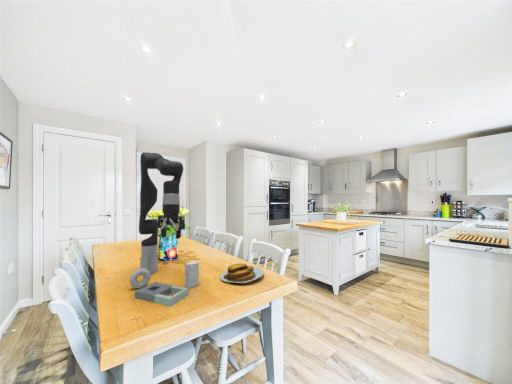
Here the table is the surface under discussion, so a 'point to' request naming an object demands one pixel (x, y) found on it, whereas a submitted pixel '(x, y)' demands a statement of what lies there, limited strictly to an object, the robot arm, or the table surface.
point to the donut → (134, 276)
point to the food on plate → (241, 273)
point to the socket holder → (162, 293)
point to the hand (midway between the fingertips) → (171, 237)
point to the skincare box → (191, 274)
